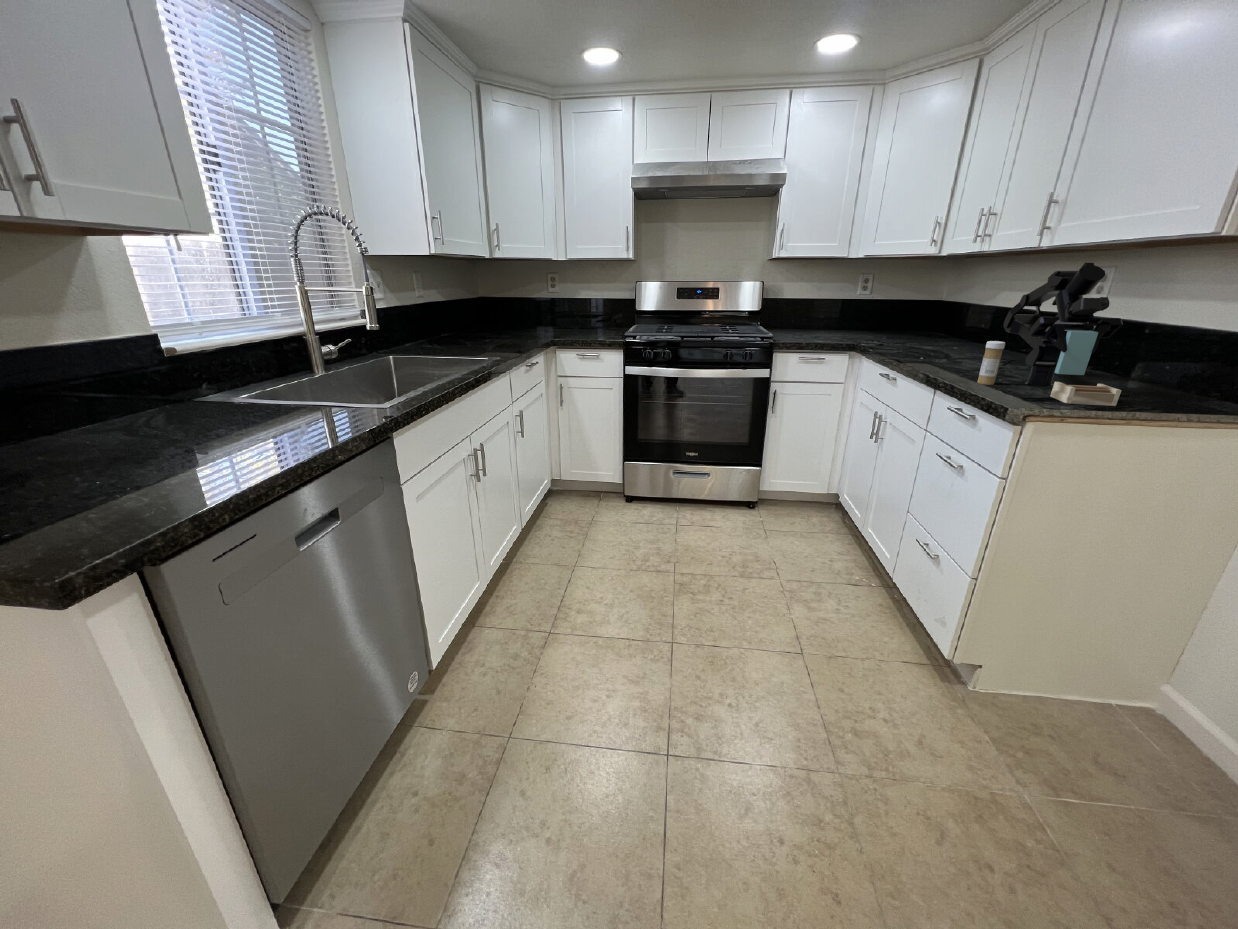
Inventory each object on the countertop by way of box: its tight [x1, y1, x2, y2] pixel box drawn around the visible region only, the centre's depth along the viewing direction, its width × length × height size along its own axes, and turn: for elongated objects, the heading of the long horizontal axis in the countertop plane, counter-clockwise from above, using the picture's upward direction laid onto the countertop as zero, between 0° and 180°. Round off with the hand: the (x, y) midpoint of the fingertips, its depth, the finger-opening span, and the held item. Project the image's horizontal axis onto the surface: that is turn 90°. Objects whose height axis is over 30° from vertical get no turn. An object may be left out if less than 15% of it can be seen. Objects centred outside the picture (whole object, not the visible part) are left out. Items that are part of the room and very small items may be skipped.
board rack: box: [1050, 381, 1122, 407], centre depth 130 cm, size 8×11×5 cm
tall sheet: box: [1054, 331, 1098, 376], centre depth 135 cm, size 2×6×12 cm, turn 73°
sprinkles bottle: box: [976, 340, 1006, 386], centre depth 150 cm, size 5×5×14 cm
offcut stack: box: [1068, 384, 1110, 393], centre depth 129 cm, size 3×8×4 cm, turn 73°
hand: (1079, 351), depth 134 cm, fingers closed on tall sheet, 6 cm apart
